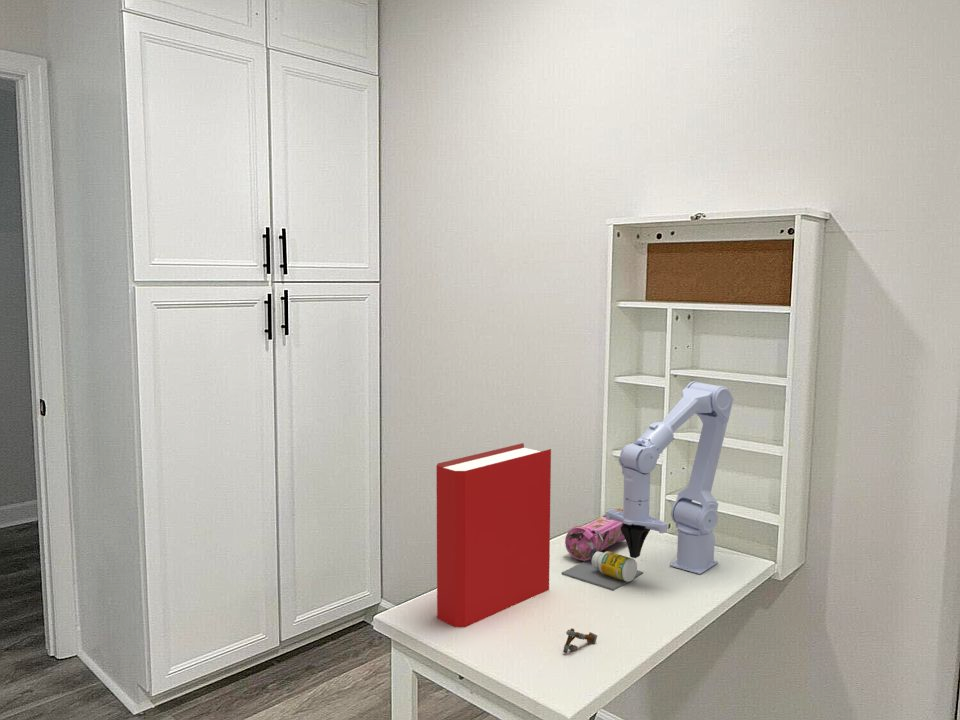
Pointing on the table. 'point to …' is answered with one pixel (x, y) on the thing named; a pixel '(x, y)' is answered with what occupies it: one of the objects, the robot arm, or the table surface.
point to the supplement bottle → (615, 565)
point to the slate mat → (595, 576)
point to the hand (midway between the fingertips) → (634, 556)
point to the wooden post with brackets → (572, 635)
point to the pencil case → (593, 537)
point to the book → (492, 532)
